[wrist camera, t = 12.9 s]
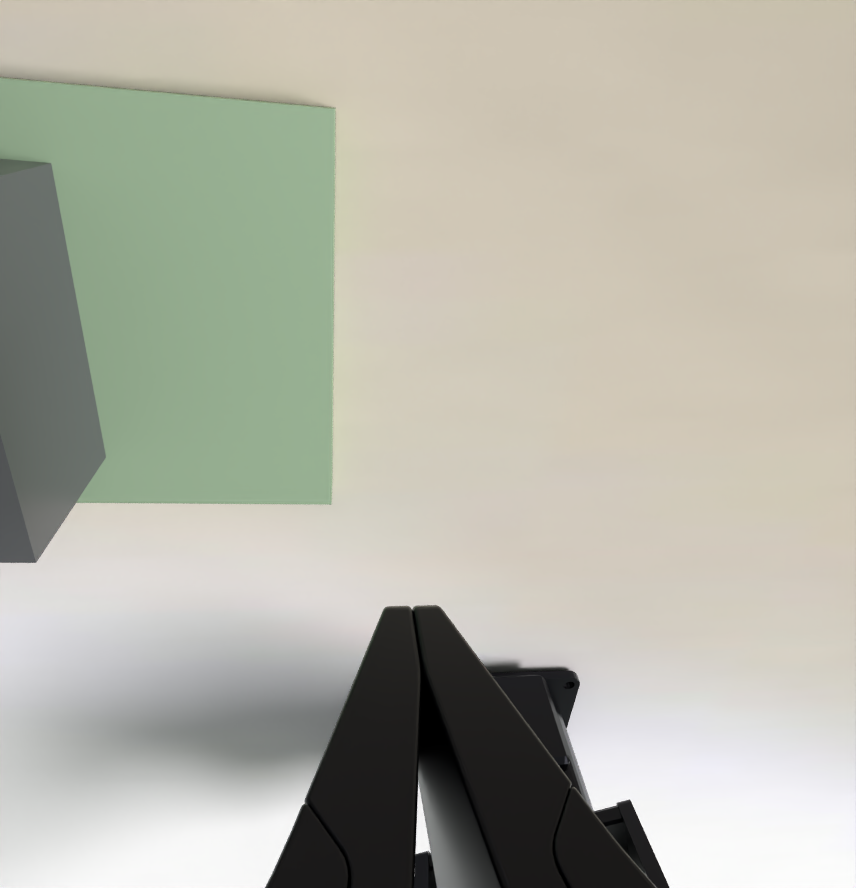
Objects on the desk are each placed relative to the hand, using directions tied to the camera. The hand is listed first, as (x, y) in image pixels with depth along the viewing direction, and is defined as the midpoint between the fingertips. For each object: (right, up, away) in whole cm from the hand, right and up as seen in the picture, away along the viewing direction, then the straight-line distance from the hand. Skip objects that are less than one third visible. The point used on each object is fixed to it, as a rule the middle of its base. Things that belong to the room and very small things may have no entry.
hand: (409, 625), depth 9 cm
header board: (-9, +7, +9) cm, 14 cm away
